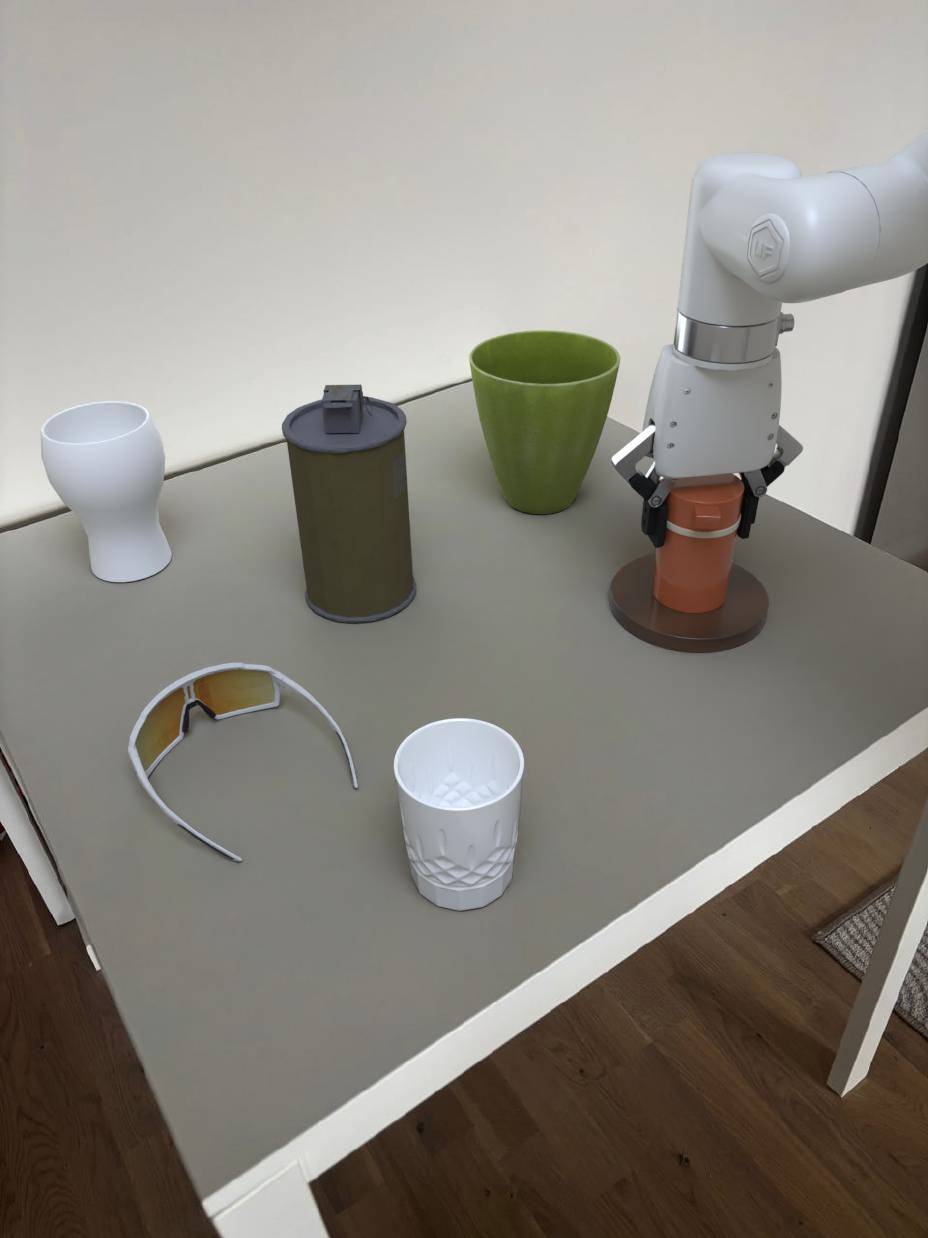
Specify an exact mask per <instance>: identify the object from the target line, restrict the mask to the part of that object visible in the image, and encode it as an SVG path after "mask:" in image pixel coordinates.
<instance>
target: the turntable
mask: <svg viewBox="0 0 928 1238" xmlns="http://www.w3.org/2000/svg"><path fill="white" fill-rule="evenodd" d="M655 556H656V553H651V554H648V555H647V554H646V555H644V556H640V557H638V558H635V559H634V560H632V561H630V562H628V563H626V564H625V565H623V566H622V567H621V568H620V569H619V570H618V571H617V572H616V574H615V575H614V576H613V579H612V580H611V584H610V590H609V591H610V592H609V607H610V611H611V612H612V613H611V614H612V615H613V617H614V618H615V619H616V621H617V622H618V624H619V625H620V626H622V628H624V630H626V631H627V632H628V633H630V634H632V635H633V636H634V637H636V638H637V639H640V640H642V641H644V642H646V643H649V644H651V645H653V646H656V647H660V648H663V649H668V650H672V651H676V652H685V653H701V654H702V653H715V652H723V651H727V650H732V649H734V648H737V647H740V646H741V645H744V644H746V643H748V642H750V641H751V640H753V639H754V638H755V637H756V636H758V635H759V634H760V632H761V631H762V630H763V628H764V626H765V624H766V621H767V616H768V613H769V607H770V599H769V595H768V592H767V590H766V588H765V586H764V584H762V582H761V580H759V578H757V577H756V576H755V575H754V574H753V573H751V572H750V571H749V570H747V569H746V568H744V567H742V566H740V565H739V564H737V563H734V562H732V566H731V572H730V578H729V584H728V590H727V596H726V600H725V602H724V603H723V604H722V605H721V606H720V607H718V608H717V609H715V610H712V611H709V612H703V613H686V612H680V611H676V610H673V609H671V608H668V607H666V606H664V605H663V604H661V603H660V602H659V601H658V600H657V599H656V598H655V597H654V595H653V593H652V583H653V574H654V565H655Z"/></svg>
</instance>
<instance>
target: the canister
mask: <svg viewBox="0 0 928 1238" xmlns="http://www.w3.org/2000/svg"><path fill="white" fill-rule="evenodd" d="M407 421H408V420H407V416H406V413H405V412H404V410H402V408H400V407H399V406H397V404H395V403H393V402H391V401H387V400H383V399H379V398H375V397H371V396H367V395H364V392H363V386H362V384H325V385H324V389H323V395H322V398H321V399H317V400H314V401H312V402H309V403H306V404H303V405H300V406H299V407H297V408H295V409H294V410H292V411H291V412H289V413H288V414H287V415H286V417H285V418H284V420H283V421H282V423H281V432H282V436H283V437H284V438H285V440H286V447H287V454H288V460H289V461H288V462H289V467H290V468H289V469H290V476H291V482H292V483H291V484H292V491H293V497H294V505H295V513H296V520H297V529H298V535H299V542H300V543H299V544H300V551H301V557H302V564H303V565H302V566H303V573H304V579H305V590H304V597H305V601H306V603H307V605H308V607H310V609H311V610H313V611H314V613H315V614H316V615H319V616H321V617H324V618H325V619H328V620H330V621H332V622H333V621H334V622H338V623H346V624H367V623H372V622H377V621H381V620H385V619H387V618H390V617H392V616H394V615H395V614H397V613H399V612H401V611H402V610H404V609H405V608H406V607H408V606H409V604H410V603H412V601H413V600H414V598H415V595H416V592H417V582H416V578H415V577H414V571H413V570H414V569H413V556H412V555H413V553H412V538H411V537H412V536H411V522H410V506H409V505H410V504H409V489H408V473H407V472H408V470H407V456H406V455H407V454H406V439H405V429H406V426H407V423H408V422H407Z"/></svg>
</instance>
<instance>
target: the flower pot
mask: <svg viewBox="0 0 928 1238" xmlns="http://www.w3.org/2000/svg"><path fill="white" fill-rule="evenodd" d="M468 361H469V367H470V374H471V379H472V381H471V382H472V386H473V393H474V399H475V403H476V409H477V413H478V418H479V422H480V427H481V430H482V435H483V439H484V441H485V446H486V448H487V452H488V455H489V458H490V459H489V460H490V461H491V465H492V467H493V471H494V473H495V477H496V479H497V482H498V485H499V487H500V489H501V491H502V494H503V496H504V499H505V502H506V503H507V504H508V505H509V506H510V507H512V508H513V509H515V510H517V511H520V512H522V513H527V514H534V515H548V514H550V515H551V514H555V513H560V512H561V511H564V510H566V509H567V508H569V507H570V506H571V505H572V504H573V503H574V500H575V498H576V496H577V495H578V492H579V491H580V488H581V486H582V484H583V482H584V479H585V478H586V476H587V473H588V471H589V469H590V466H591V464H592V461H593V458H594V456H595V453H596V451H597V449H598V445H599V442H600V440H601V436H602V434H603V430H604V428H605V425H606V421H607V418H608V414H609V410H610V407H611V403H612V400H613V395H614V391H615V386H616V383H617V378H618V373H619V368H620V365H621V355H620V353H619V351H618V350H617V349H616V348H615V346H613V345H611V344H610V343H608V342H607V341H604V340H602V339H600V338H597V337H594V336H590V335H587V334H582V333H578V332H572V331H564V330H543V329H540V330H539V329H538V330H524V331H515V332H509V333H504V334H500V335H497V336H494V337H491V338H488V339H485V340H483V341H481V342H480V343H478V344H477V345H476V346H474V347H473V348H472V350H471V351H470V353H469V355H468Z"/></svg>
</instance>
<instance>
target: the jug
mask: <svg viewBox="0 0 928 1238" xmlns="http://www.w3.org/2000/svg"><path fill="white" fill-rule="evenodd" d="M743 494H744V484H743V482H742V480H741V478H740V477H738V476H737V475H736V474H735V473H733V474H723V475H713V476H702V477H691V478H679V479H678V480H677V481H676V483H675V484H674V486H673V487H672V489H671V491H670V492H669V494H668V495H667V497H666V498H665V500H664V502H665V504H666V505H667V507H668V518H667V527H666V535H665V543H664V546H662V547H660V548H655V554H656V556H655V565H654V574H653V583H652V593H653V595H654V597H655V598H656V599H657V600H658V601H659V602H660V603H661V604H663V605H664V606H666V607H668V608H671V609H673V610H676V611H680V612H686V613H703V612H709V611H712V610H715V609H717V608H718V607H720V606H721V605H722V604H723V603H724V602H725V600H726V596H727V590H728V584H729V578H730V572H731V566H732V563H733V560H734V555H735V554H734V553H735V548H736V542H737V537H738V535H737V530H738V527H739V525H740V520H741V513H740V512H741V506H742V500H743Z"/></svg>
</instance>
